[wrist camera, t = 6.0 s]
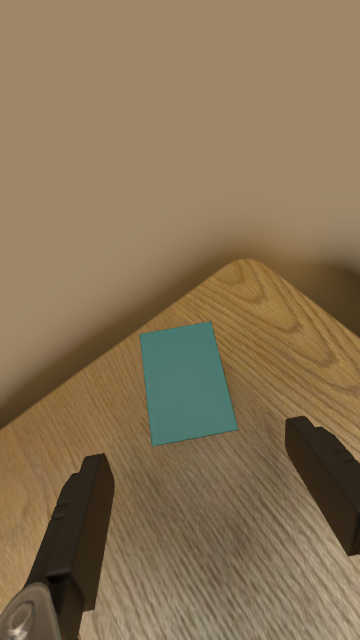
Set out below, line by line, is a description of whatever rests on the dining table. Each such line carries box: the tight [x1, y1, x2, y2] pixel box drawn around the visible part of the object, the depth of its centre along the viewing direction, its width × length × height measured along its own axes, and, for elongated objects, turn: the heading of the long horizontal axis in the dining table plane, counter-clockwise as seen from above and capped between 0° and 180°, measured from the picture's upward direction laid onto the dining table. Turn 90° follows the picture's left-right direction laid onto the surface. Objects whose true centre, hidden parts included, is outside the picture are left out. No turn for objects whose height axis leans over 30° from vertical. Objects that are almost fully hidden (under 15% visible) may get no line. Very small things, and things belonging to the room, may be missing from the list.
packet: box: [140, 322, 238, 446], centre depth 15 cm, size 4×6×8 cm
